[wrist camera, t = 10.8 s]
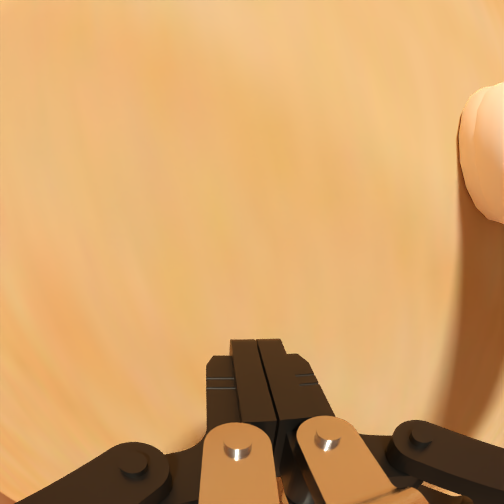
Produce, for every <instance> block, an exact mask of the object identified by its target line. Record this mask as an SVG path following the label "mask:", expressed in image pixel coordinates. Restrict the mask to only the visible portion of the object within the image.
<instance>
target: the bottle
mask: <svg viewBox="0 0 504 504" xmlns="http://www.w3.org/2000/svg"><path fill="white" fill-rule="evenodd" d="M459 150H460V164H461V168H462V172H463V176H464V180H465V185H466V188H467V190H468V192H469V194H470V196H471V198H472V200H473V202H474V204H475V207H476V208H477V209H478V210H479V211H480V212H481V213H482V214H483V215H484V216H485V217H486V218H487V219H489V220H493V221H496V222H500V223H502V224H503V225H504V82H502V83H498V84H496V85H495V86H489V87H483V88H481V89H479V90H478V91H476V92H475V93H473V94H472V95H470V97H469V99H468V102H467V103H466V105H465V107H464V109H463V111H462V117H461V124H460V130H459Z"/></svg>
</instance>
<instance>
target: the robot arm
mask: <svg viewBox="0 0 504 504" xmlns="http://www.w3.org/2000/svg"><path fill="white" fill-rule="evenodd" d="M206 399H207V431H206V434H205V436H204V437H203V439H202V440H201V441H200V442H199V443H198V444H197V445H195V446H193V447H192V448H190V449H187V450H184V451H181V452H176V453H171V454H166V455H164V454H163V453H162V452H161V451H160V450H158V449H157V448H155V447H153V446H151V445H148V444H145V443H139V442H128V443H122V444H119V445H116V446H114V447H112V448H111V449H109V450H107V451H106V452H104V453H103V454H101V455H100V456H98V457H96V458H95V459H93V460H91V461H90V462H88V463H87V464H85V465H83V466H82V467H80V468H78V469H77V470H75V471H73V472H71V473H70V474H68V475H66V476H65V477H63V478H61V479H59V480H58V481H56V482H54V483H52V484H51V485H49V486H47V487H45V488H43V489H41V490H40V491H38V492H36V493H34V494H32V495H30V496H28V497H26V498H25V499H23V500H21V501H19V502H17V503H15V504H280V503H279V495H278V488H277V481H276V477H281V479H282V483H283V491H282V495H281V499H282V503H283V504H504V448H501V447H497V446H494V445H491V444H488V443H485V442H482V441H479V440H476V439H473V438H470V437H467V436H464V435H462V434H459V433H456V432H453V431H450V430H448V429H445V428H442V427H440V426H437V425H434V424H432V423H429V422H426V421H421V420H411V421H406V422H404V423H402V424H400V425H399V426H398V427H397V428H396V429H395V431H394V433H393V435H392V436H379V435H363V434H358V432H357V431H356V429H355V428H354V427H353V426H352V425H351V424H350V423H348V422H347V421H345V420H343V419H340V418H337V417H335V415H334V413H333V411H332V409H331V407H330V405H329V403H328V401H327V399H326V397H325V395H324V393H323V391H322V389H321V387H320V385H318V381H317V379H316V377H315V375H314V373H313V371H312V369H311V367H310V365H309V363H308V362H307V361H306V360H305V359H303V358H302V357H301V356H300V355H298V354H286V351H285V349H284V346H283V344H282V341H281V340H280V339H256V340H254V339H248V340H230V356H213V357H212V358H211V360H210V361H209V363H208V364H207V365H206ZM423 481H425V482H428V483H430V484H433V485H435V486H438V487H441V488H443V489H446V490H449V491H452V492H455V493H458V494H461V496H450V495H447V494H444V493H442V492H439V491H436V490H434V489H431V488H428V487H426V486H423V485H421V484H422V483H423Z"/></svg>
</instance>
